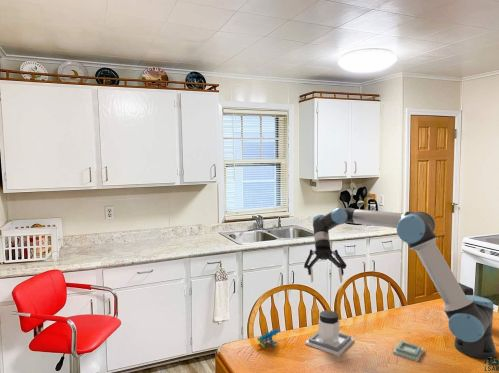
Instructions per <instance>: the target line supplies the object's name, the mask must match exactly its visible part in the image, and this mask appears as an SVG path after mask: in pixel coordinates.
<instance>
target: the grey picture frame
mask: <svg viewBox="0 0 499 373" xmlns="http://www.w3.org/2000/svg"><path fill="white" fill-rule="evenodd" d="M354 341H355V338H352V336H351V335H348V334H345V333H342V332H339V341H338V342H337V343H335V344H334V345H330V344H325V343H322V342H321V341H320V340H319V339H318V331H316V332H315V333H314V334H313V335H312V336H310V337H309V338H308V339H307V340H306V341H305V345H307V346H310V347H313V348H314V349H315V348H316V349H318V350H321V351H324V352H326V353H329V354H332V355H335V356H338V357H340V356H341V355H342V354H343V353H344V352H345V351H346V350H347V349H348V348H349V347H350V346H351V344H353V343H354Z"/></svg>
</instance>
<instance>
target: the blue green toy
mask: <svg viewBox="0 0 499 373" xmlns="http://www.w3.org/2000/svg"><path fill="white" fill-rule="evenodd" d="M279 333H280V329H279V328H276V329H274V330H273V329H272V330H270V331H269V332H265V334H262V335H261V336H260V337H257V338H256V339H257V340H256V341H257V342H259V343H260V344H261V346H262V348H263V349H265V348H266V346H265V344H264V343H266V342H268V341H270V344H271V345H272V347H275V345H276V344H275V342H274V339H273V336H277V334H279Z"/></svg>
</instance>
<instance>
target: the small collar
mask: <svg viewBox="0 0 499 373" xmlns="http://www.w3.org/2000/svg"><path fill="white" fill-rule="evenodd" d="M424 351H425V349H424V348H423V347H421V346H420V345H417V344H414V343H411V342H407V341H404V340H401V341H399V342H398V343H397V345H396V346H395V348H394V349H393V350H392V355H393V354H394V355H397V356H399V357H403V358H406V359H408V360H412V361H415V362H419V360H420V359H421V358H422V356H423V354H424Z"/></svg>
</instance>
